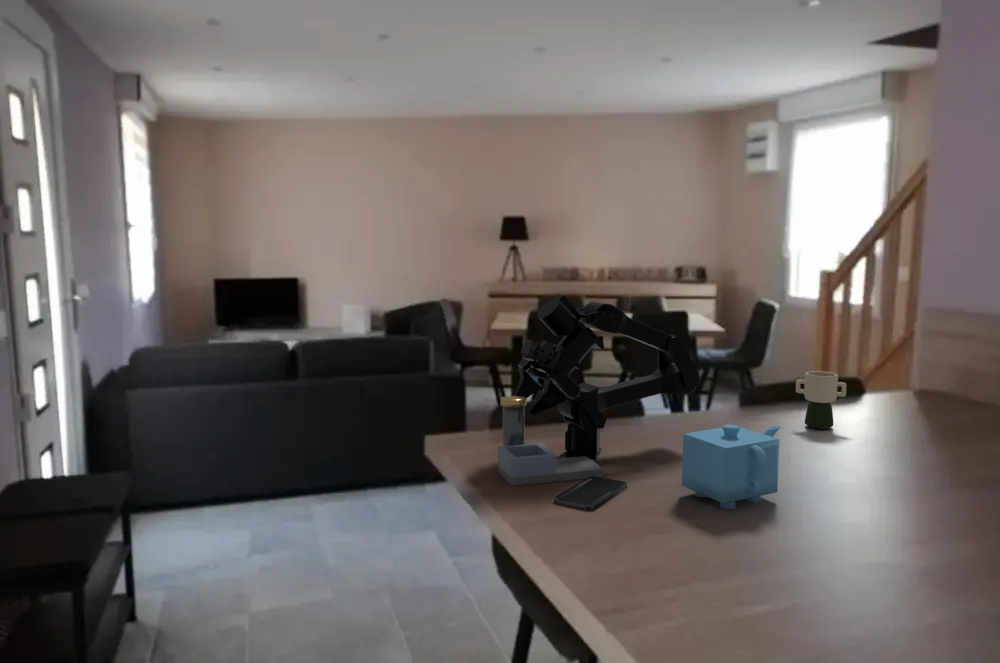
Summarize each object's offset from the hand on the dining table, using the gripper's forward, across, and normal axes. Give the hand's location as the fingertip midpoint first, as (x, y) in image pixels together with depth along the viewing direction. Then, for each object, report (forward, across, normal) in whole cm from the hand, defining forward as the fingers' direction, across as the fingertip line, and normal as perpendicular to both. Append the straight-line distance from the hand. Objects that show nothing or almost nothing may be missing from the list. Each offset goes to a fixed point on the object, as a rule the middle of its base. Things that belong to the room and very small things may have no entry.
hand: (521, 409), depth 154 cm
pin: (+9, 0, +6) cm, 11 cm away
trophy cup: (-45, +3, +61) cm, 76 cm away
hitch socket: (+6, +9, +9) cm, 15 cm away
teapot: (-12, +33, +28) cm, 45 cm away
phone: (+6, +23, +11) cm, 26 cm away
